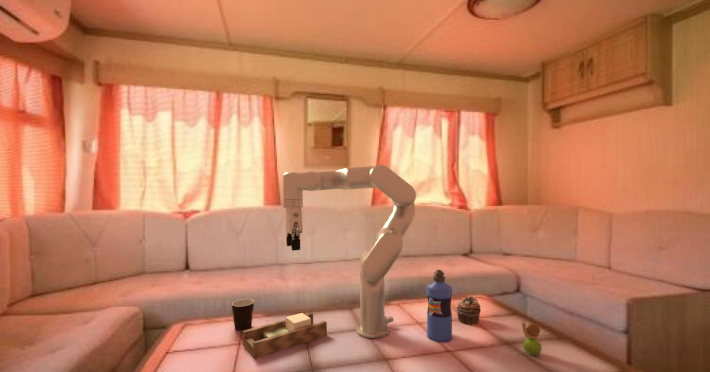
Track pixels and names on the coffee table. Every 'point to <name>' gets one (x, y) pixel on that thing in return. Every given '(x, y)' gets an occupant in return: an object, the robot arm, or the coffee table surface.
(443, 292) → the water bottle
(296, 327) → the cream block
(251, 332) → the box
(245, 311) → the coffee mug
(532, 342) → the snail figurine
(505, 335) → the coffee table surface
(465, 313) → the cupcake
